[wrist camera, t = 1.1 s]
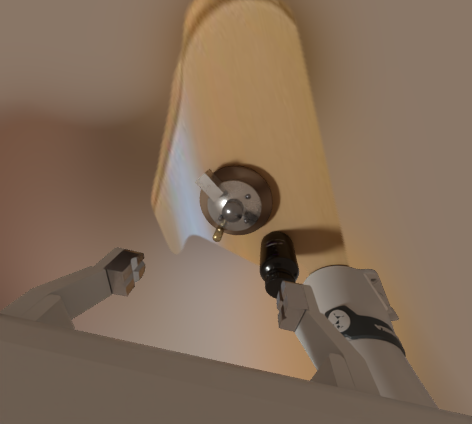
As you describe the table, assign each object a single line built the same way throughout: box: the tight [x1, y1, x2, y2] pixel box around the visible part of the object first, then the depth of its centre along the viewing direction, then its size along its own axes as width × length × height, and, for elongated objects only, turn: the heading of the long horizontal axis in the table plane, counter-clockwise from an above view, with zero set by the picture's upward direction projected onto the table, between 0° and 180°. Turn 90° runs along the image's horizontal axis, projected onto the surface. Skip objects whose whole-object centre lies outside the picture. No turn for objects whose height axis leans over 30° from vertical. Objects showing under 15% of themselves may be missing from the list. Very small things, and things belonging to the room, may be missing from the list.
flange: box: [195, 169, 261, 231], centre depth 32 cm, size 13×10×4 cm
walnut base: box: [200, 166, 272, 242], centre depth 33 cm, size 14×14×6 cm
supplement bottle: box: [260, 232, 299, 298], centre depth 34 cm, size 7×7×12 cm
